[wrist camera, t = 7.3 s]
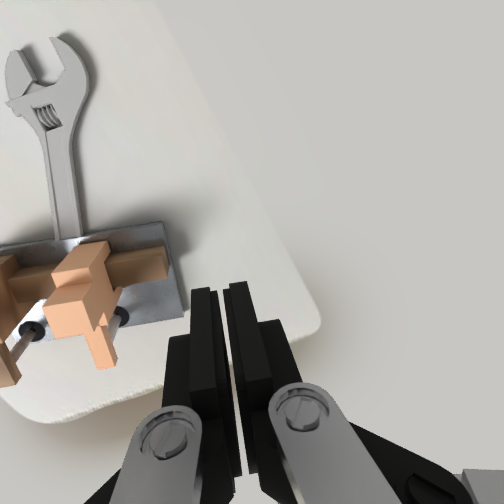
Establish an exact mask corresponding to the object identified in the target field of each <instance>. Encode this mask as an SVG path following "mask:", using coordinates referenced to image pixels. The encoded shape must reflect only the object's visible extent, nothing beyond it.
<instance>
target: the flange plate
mask: <svg viewBox="0 0 504 504" xmlns="http://www.w3.org/2000/svg"><path fill="white" fill-rule="evenodd" d="M101 241H107V242H108V245H109V248H110V251H111V252H110V253H109V254H116V253H122V252H128V251H134V250H140V249H147V248H153V247H159V246H164V248H165V252H166V256H167V260H168V264H169V272H168V277H167V279H161V280H155V281H149V282H143V283H137V284H131V285H125V286H122V290H123V291H122V294H121V296H120V298H119V301H118V303H117V305H116V308H115V310H114V312H113V315H119V316H120V317H121V322H120V324H119V327H118V328H124V327H129V326H135V325H141V324H146V323H152V322H158V321H163V320H169V319H175V318H181V317H184V309H183V305H182V300H181V296H180V292H179V288H178V284H177V280H176V275H175V271H174V267H173V263H172V259H171V255H170V250H169V246H168V242H167V238H166V234H165V229H164V225H163V221H162V222H156V223H149V224H143V225H137V226H130V227H124V228H117V229H111V230H105V231H98V232H92V233H86V234H83V235H82V236H81V237H73V238H67V239H61V240H59V241H55V238H54V239H48V240H41V241H35V242H28V243H22V244H16V245H9V246H3V247H0V256H7V255H13V254H14V256H15V258H16V261H17V263H18V265H19V268H20V269H23V268H29V267H35V266H41V265H48V264H54V263H60V262H62V261H63V260H64V258H65V257H66V256H67V255H68V254H69V253H70V252H71V251H72V249H73V248H74V247H75V246H76V245H82V244H88V243H94V242H101ZM47 300H48V299H42V300H36V301H34V302H35V305H34V306H33V308H32V309H31V310H30V311H29V312H28V314H27V315H26V316H25V317H24V318H23V320H22V321H21V322H20V323H19V324H18V326H17V327H16V328H15V329H14V330H13V332H12V334H13V336H14V338H15V340H16V342H18V341H19V339H20V338H21V337H22V336H23V334H24V333H25V332H26V331H27V330H33V331H34V332H35V336H34V338H33V339H32V341H31V342H30V343H29V344H32V343H38V342H44V341H50V340H55V337H54V335H53V333H52V330H51V328H50V326H49V323H48V321H47V319H46V316H45V314H44V312H43V309H42V306H43V305H44V303H45V302H46V301H47ZM113 315H112V316H113ZM111 318H112V317H111ZM110 320H111V319H110ZM109 323H110V322H109ZM108 325H109V324H108ZM108 325H106V326H107V328H108ZM83 335H84V334H83ZM77 336H78V335H77ZM71 337H72V336H71ZM66 338H67V337H66ZM60 339H61V338H60Z"/></svg>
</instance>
